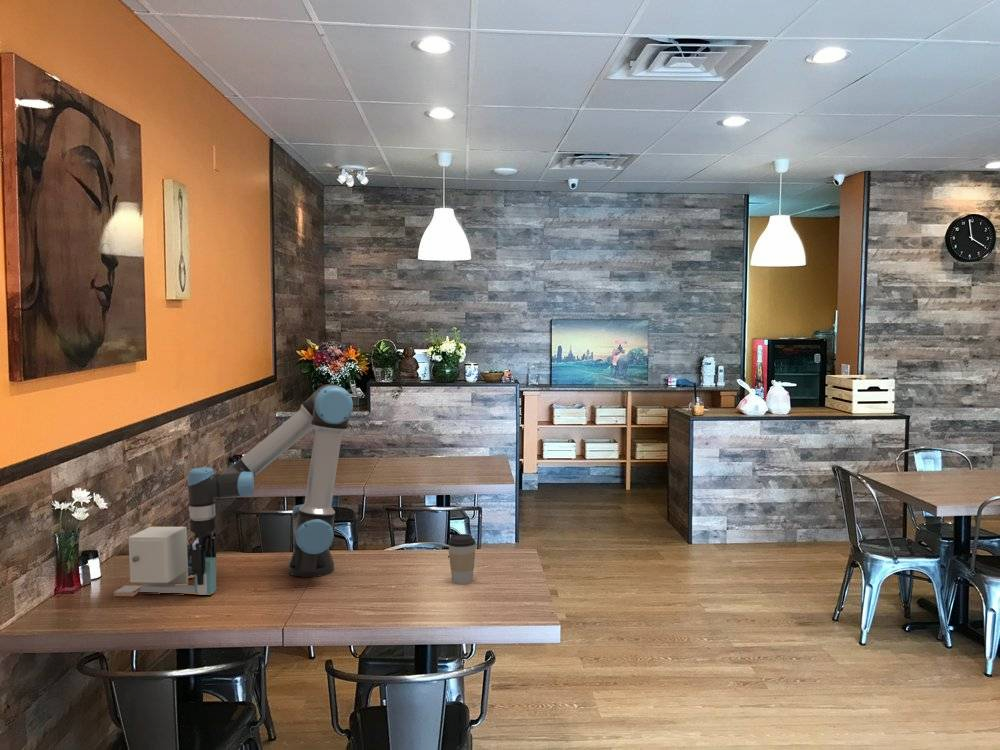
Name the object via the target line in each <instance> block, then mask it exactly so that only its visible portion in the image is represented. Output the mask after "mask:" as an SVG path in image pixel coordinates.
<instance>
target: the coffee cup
mask: <svg viewBox="0 0 1000 750" xmlns="http://www.w3.org/2000/svg"><path fill="white" fill-rule="evenodd" d="M476 543H477V542H476V539H475V538H473V536H472V535H470V534H467V533H466V534H465V533H458V534H452V535H451V537H450V538H449V539H448V542H447V545H448V556H449V566H450V574H451V582H452V583H453V584H455V585H469V584H471V583H473V580H474V569H475V561H476V560H475V559H476Z"/></svg>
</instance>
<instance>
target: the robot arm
mask: <svg viewBox="0 0 1000 750" xmlns="http://www.w3.org/2000/svg"><path fill="white" fill-rule="evenodd" d="M353 409H354V403H353V399H352V396H351V394H350V393H349V391H347V390H346V389H345V388H343V387H341V386H339V385H337V384H335V383H328V384H324V385H321V386H320V387H318V388H317V390H315V391H314V392H313V393H312V394H311V396H309V397H308V398H307V399H306V400H305V401H304V402H302V404H301V405H300V409H299V410H298V411H296V412H294V414H293V415H292V416H290V417H289V418H288V419H287V420H285V421H284V422H283V423H282V424H281V425H280V426H278V427H277V428H275V430H274V431H272V432H271V433H270V434H268V435H267V436H266V437H265V438H264V439H262V440H261V441H260V442H259V443H257V444H256V446H254V447H253V448H252V449H250V450H249V451H248V452H247V453H246V454H245V455H243V456H242V457H241V458H240V459H238V460H237V461H236V462H235V463H234V464H231V465H229V466H228V467H226V469H225V471H224V473H215V472H214V469H213V468H212V467H208V466H207V467H204V466H203V467H196V468H192V469H190V470H189V471H188V473H187V491H188V512H189V519H190V520H189V530H190V532H191V533H193V534H194V538H193V539H194V541H193V542H192V543H190V548H191V556H192V572H193V574H196V575H197V594H199V595H206V594H207V581H206V573H205V557H216V558H217V533H216V532H212V531H215V530H216V528H217V522H216V517H215V516H216V503H215V502H216V500H215V499H220V498H233V497H245V496H252V495H253V494H254V493H255V477H256V476H257V475H258V474H259V473H261V472H262V471H263V470H264V469H265V468H266V467H268V465H270V464H271V463H273V462H274V461H275V460H276V459H277V458H279V456H281V455H283V454H284V452H286V451H287V450H288V449H290V448H291V447H292V446H293V445H294V444H296V443H297V442H298V441H299V440H300V439H302V438H303V437H304V436H305V435H306V434H308V433H309V432H310V431H311V430H312V429H314V436H313V437H314V438H313V441H312V442H313V443H312V450H311V457H310V458H311V459H310V463H309V470H308V477H307V483H306V491H305V499H304V503H303V504H297V505H294V506H293V507H292V513H291V516H292V540H293V544H292V545H293V546H292V547H293V550H292V554H291V558H290V559H289V560H290V561H289V563H288V574H289V573H290V574H293V575H295V576H294V577H296V576H302V577H301V578H313V576H316V577H320V576H319V575H322V576H325V575H324V574H326V575H328V574H330V572H331V573H332V572H334V570H335V561H334V558H333V556H332V553H331V551H330V547H331V546H332V544H333V540H334V537H335V534H334V533H335V532H334V523H335V517H336V516H335V515H336V511H335V510H334V508H333V507H332V504H333V496H334V490H335V484H336V477H337V470H338V464H339V463H338V462H339V457H340V449H341V443H342V437H343V434H344V433H345V432H346V431H348V427H349V423H350V422H349V421H350V417H351V415H352V412H353ZM290 574H289V575H290Z"/></svg>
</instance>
